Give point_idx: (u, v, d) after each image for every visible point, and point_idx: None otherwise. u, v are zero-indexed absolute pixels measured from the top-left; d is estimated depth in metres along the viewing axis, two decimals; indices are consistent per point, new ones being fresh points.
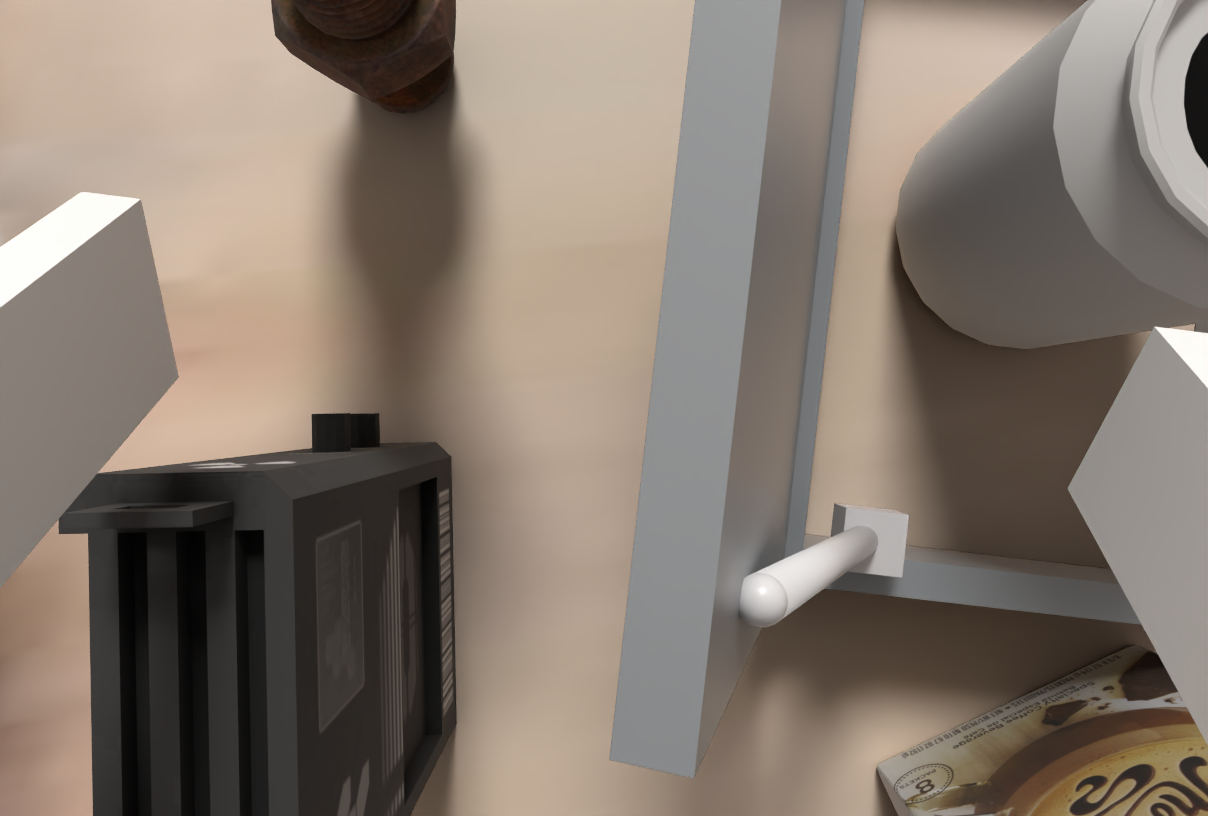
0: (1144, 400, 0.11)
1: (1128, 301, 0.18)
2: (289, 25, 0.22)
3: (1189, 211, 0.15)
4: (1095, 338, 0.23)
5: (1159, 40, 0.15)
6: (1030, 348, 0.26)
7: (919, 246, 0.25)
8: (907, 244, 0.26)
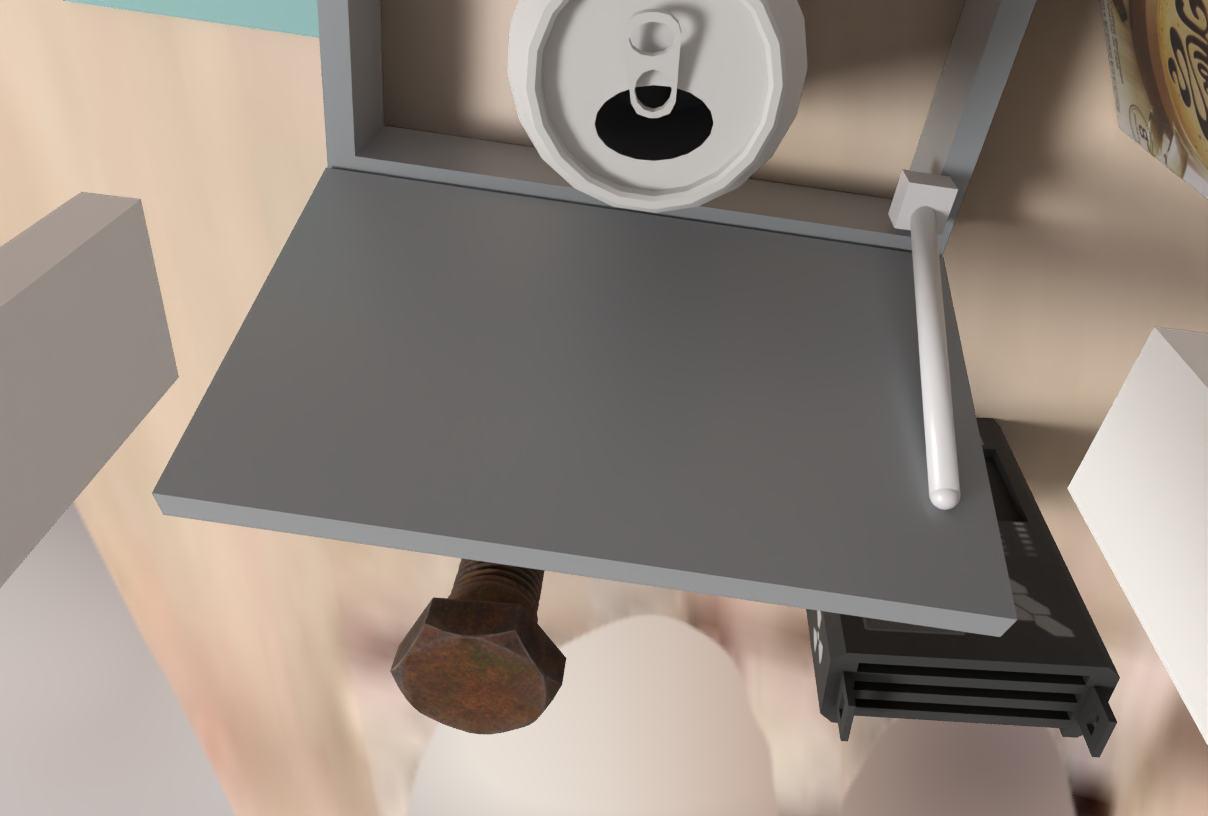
0: (1144, 400, 0.11)
1: None
2: None
3: (735, 177, 0.22)
4: None
5: (614, 192, 0.22)
6: None
7: None
8: (681, 114, 0.31)
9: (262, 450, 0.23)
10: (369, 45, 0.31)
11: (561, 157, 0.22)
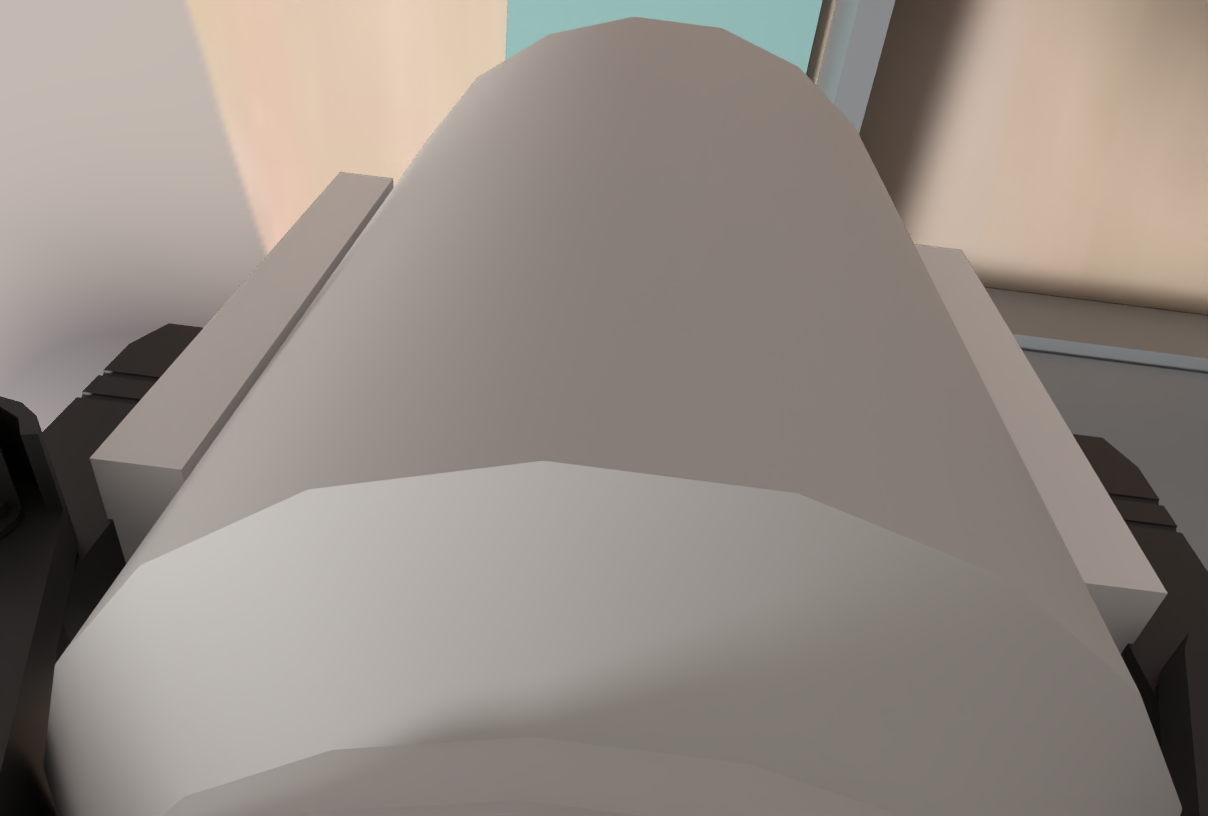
0: None
1: None
2: None
3: None
4: None
5: None
6: None
7: None
8: None
9: None
10: None
11: None
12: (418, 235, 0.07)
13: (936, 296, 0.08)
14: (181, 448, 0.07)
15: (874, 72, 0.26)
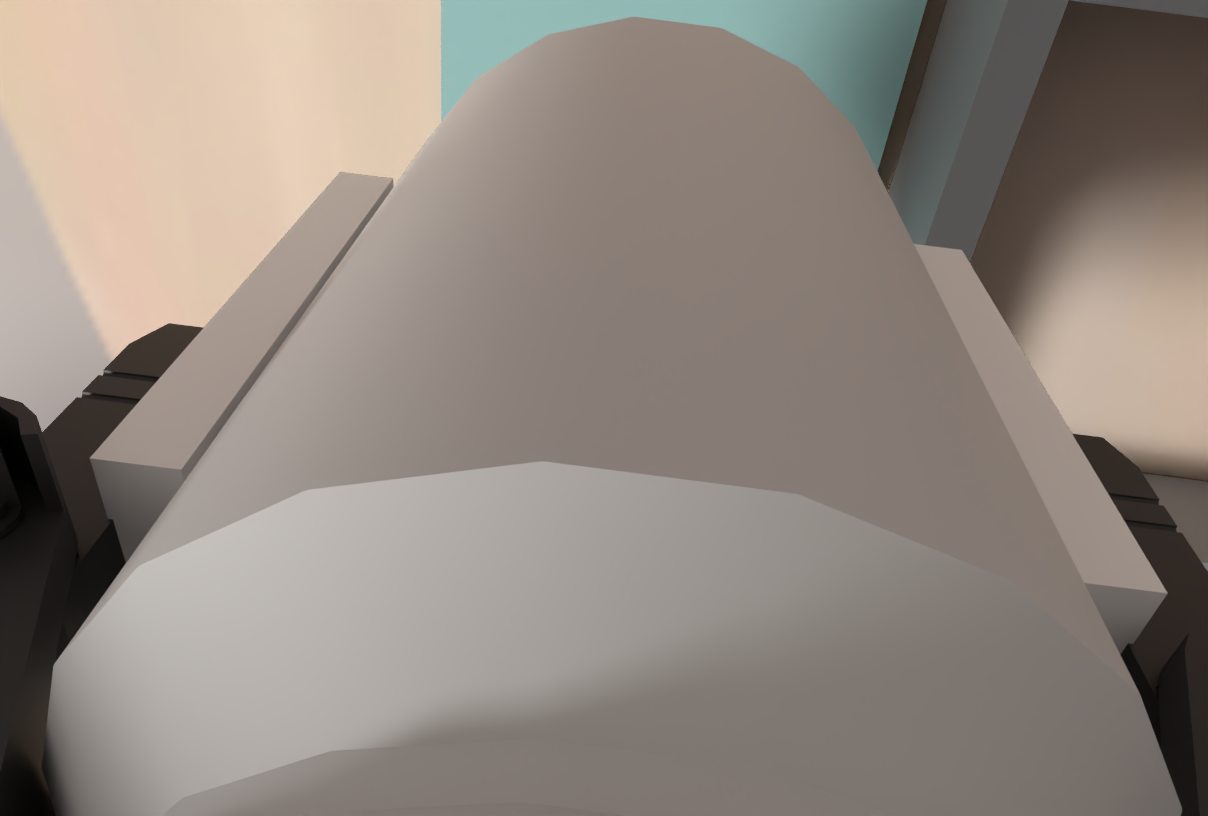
0: None
1: None
2: None
3: None
4: None
5: None
6: None
7: None
8: None
9: None
10: None
11: None
12: (418, 235, 0.07)
13: (936, 296, 0.08)
14: (181, 448, 0.07)
15: (983, 220, 0.17)
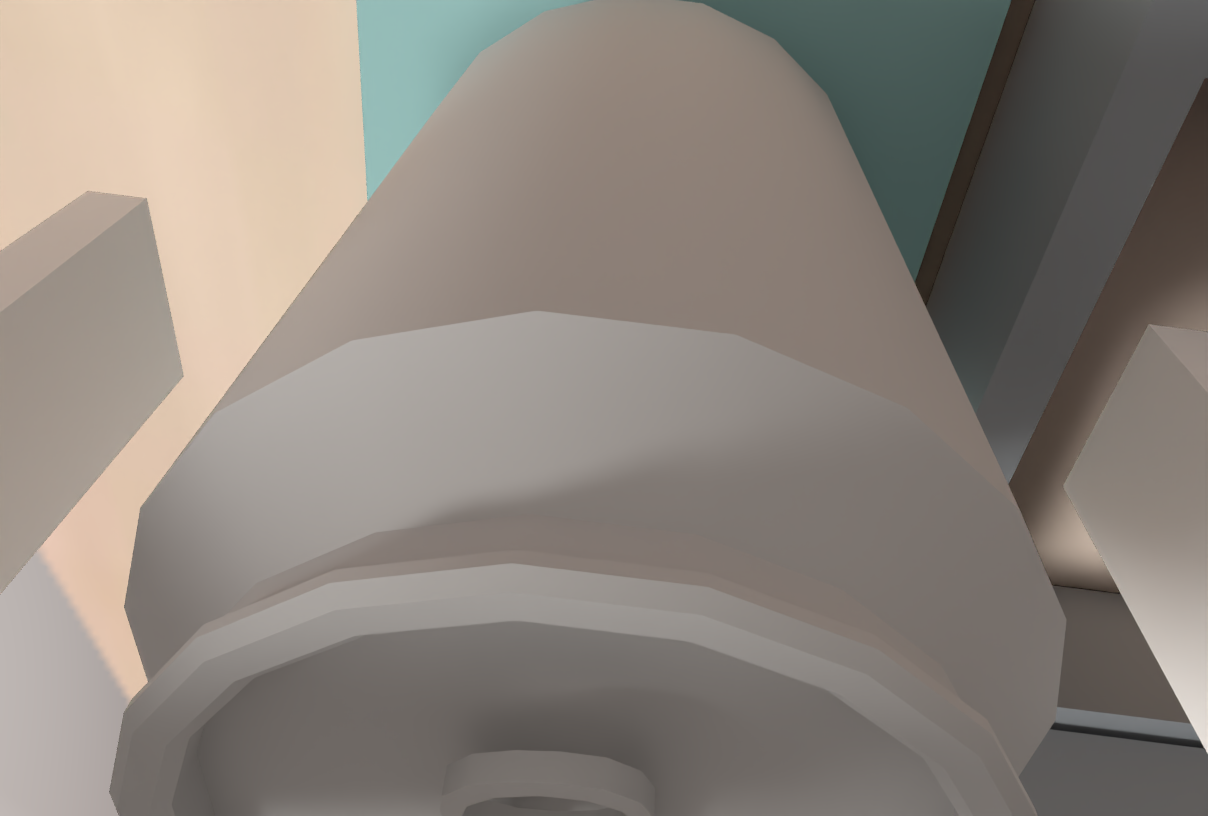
0: (1138, 398, 0.11)
1: None
2: None
3: None
4: None
5: None
6: None
7: None
8: None
9: None
10: None
11: None
12: (432, 171, 0.08)
13: (885, 228, 0.09)
14: None
15: (1068, 354, 0.13)
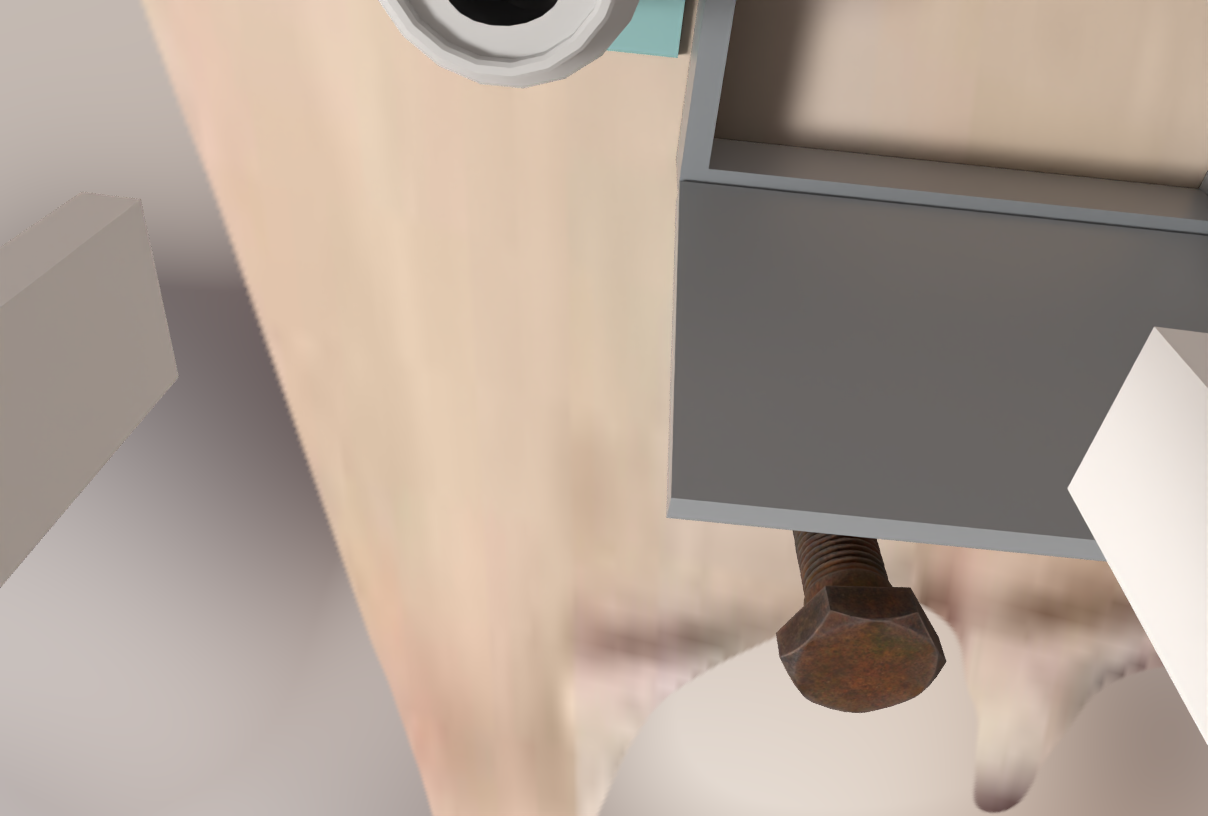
0: (1144, 400, 0.11)
1: None
2: None
3: (588, 37, 0.22)
4: None
5: (471, 60, 0.22)
6: None
7: None
8: None
9: (749, 453, 0.25)
10: None
11: (413, 25, 0.22)
12: None
13: None
14: None
15: None
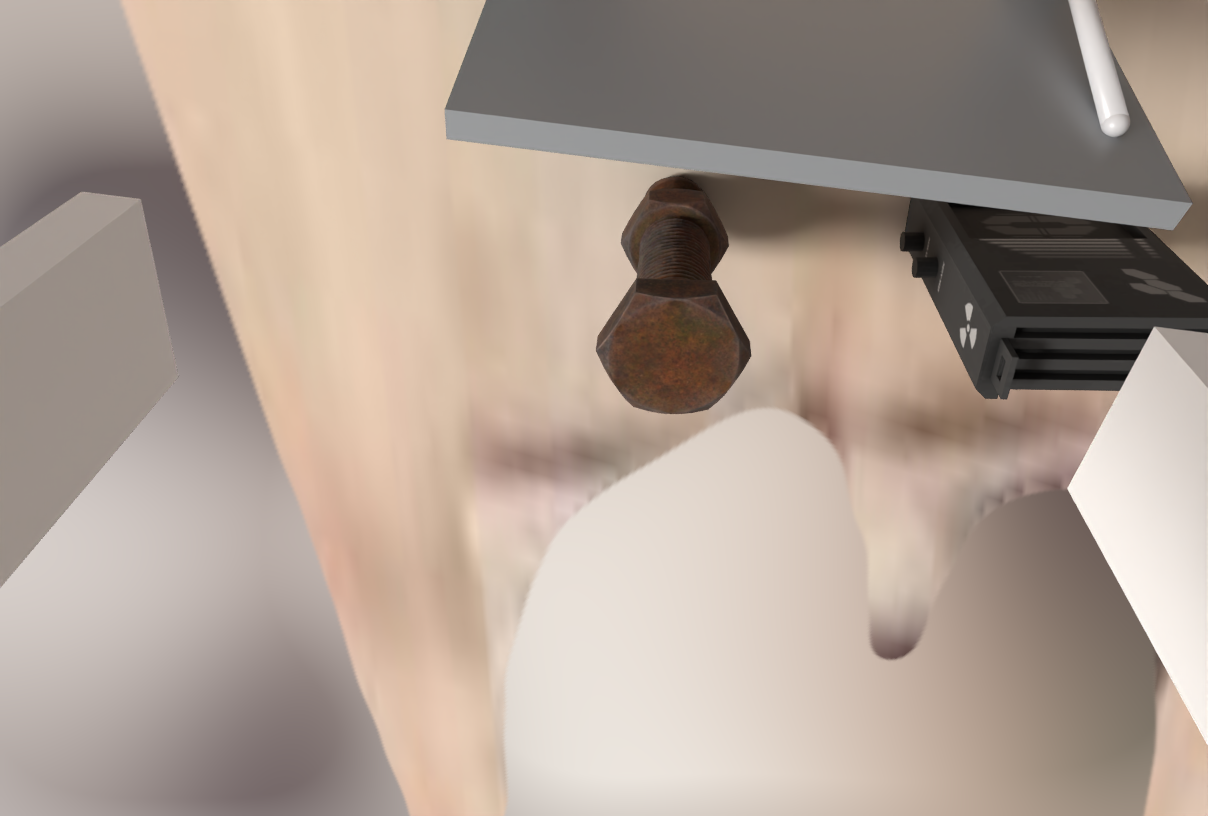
0: (1144, 400, 0.11)
1: None
2: None
3: None
4: None
5: None
6: None
7: None
8: None
9: (528, 86, 0.27)
10: None
11: None
12: None
13: None
14: None
15: None
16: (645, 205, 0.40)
